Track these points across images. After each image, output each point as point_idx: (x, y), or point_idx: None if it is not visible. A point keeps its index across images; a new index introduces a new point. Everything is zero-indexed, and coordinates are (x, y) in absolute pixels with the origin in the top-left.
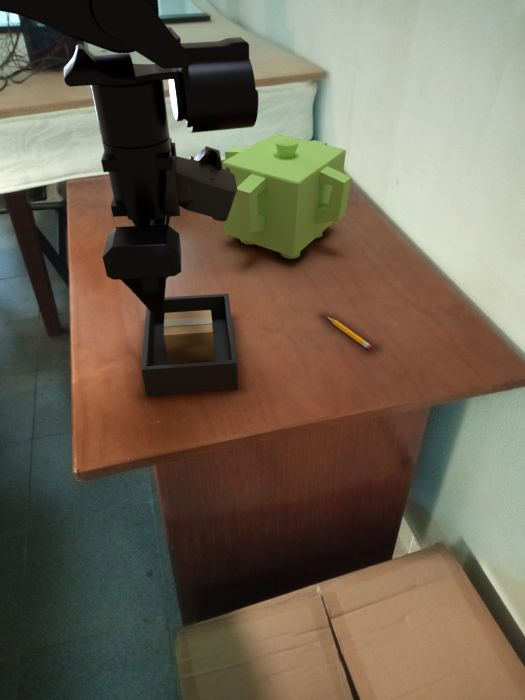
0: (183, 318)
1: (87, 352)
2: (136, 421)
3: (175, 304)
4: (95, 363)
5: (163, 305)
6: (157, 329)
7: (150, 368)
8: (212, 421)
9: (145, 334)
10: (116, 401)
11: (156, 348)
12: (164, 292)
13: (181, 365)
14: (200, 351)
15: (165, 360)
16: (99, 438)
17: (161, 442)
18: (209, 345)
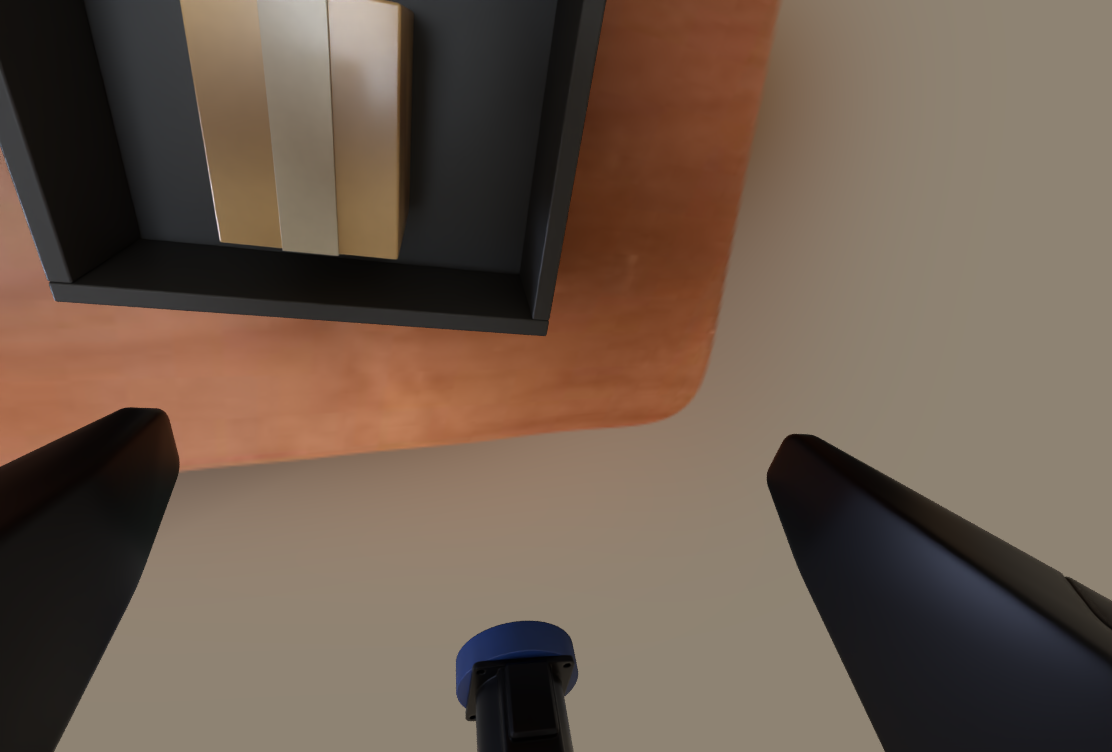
0: (273, 154)
1: (310, 434)
2: (611, 313)
3: (56, 156)
4: (362, 413)
5: (882, 476)
6: (187, 231)
7: (547, 309)
8: (691, 95)
9: (348, 318)
10: (526, 359)
11: None
12: (1057, 574)
13: (561, 198)
14: (408, 80)
15: None
16: (633, 390)
17: (702, 257)
18: (407, 31)
